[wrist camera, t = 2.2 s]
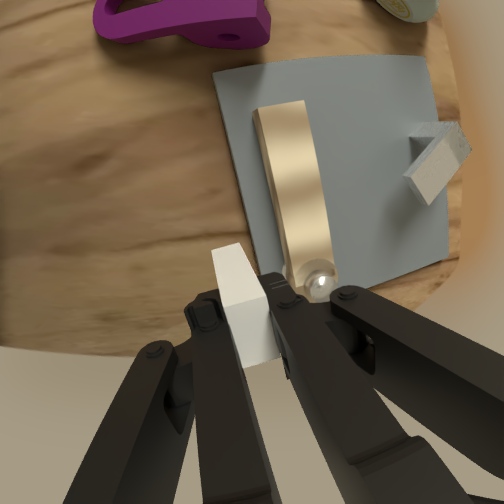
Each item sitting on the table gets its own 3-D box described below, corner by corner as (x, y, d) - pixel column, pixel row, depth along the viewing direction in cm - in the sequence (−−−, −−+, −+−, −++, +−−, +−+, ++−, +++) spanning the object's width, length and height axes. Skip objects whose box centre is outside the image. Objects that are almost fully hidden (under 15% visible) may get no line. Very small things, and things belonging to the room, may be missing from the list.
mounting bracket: (131, 62, 33) (277, 49, 28) (86, 47, 25) (255, 17, 21) (141, 0, 30) (281, -21, 26) (102, -23, 22) (262, -61, 18)
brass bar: (329, 284, 37) (340, 294, 34) (289, 296, 37) (297, 308, 34) (296, 103, 30) (306, 99, 28) (249, 112, 30) (254, 108, 27)
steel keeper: (395, 195, 36) (428, 205, 30) (377, 171, 35) (410, 177, 28) (437, 146, 35) (472, 149, 29) (421, 122, 34) (456, 121, 28)
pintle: (286, 298, 37) (302, 322, 32) (277, 253, 35) (292, 272, 30) (330, 284, 38) (352, 305, 32) (324, 240, 36) (346, 256, 30)
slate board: (269, 313, 39) (272, 319, 38) (212, 75, 30) (213, 72, 28) (442, 253, 42) (448, 256, 40) (417, 58, 32) (424, 56, 31)
